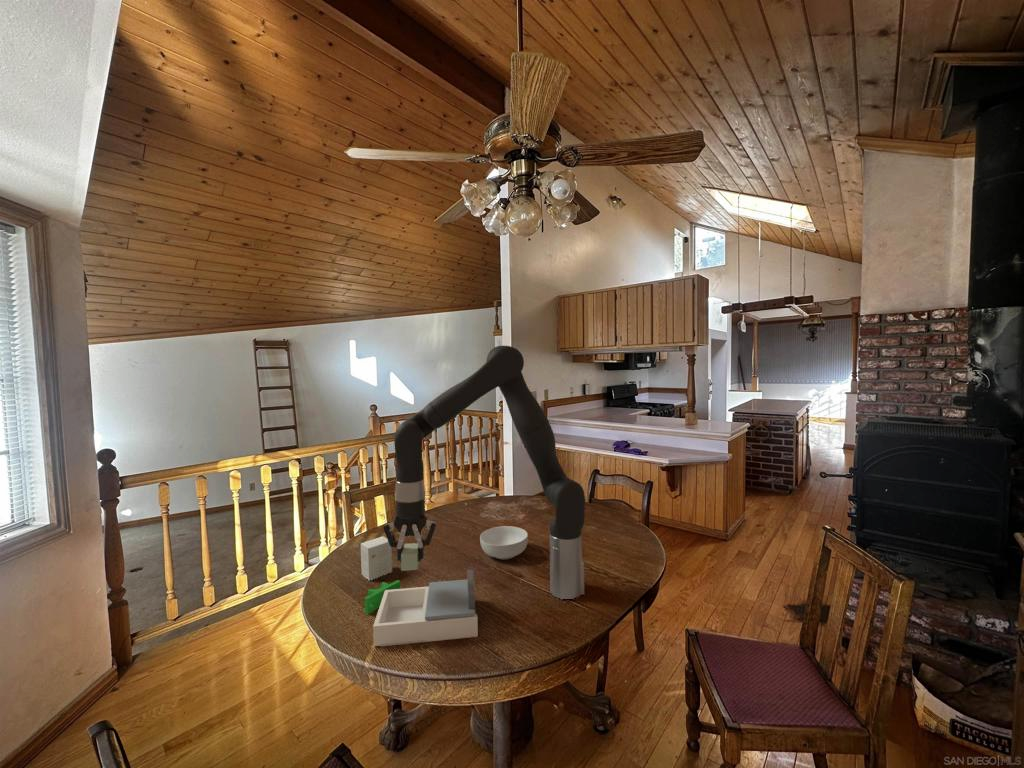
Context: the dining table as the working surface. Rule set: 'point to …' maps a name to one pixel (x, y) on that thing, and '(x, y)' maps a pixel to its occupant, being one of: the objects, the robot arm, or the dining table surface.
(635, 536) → the dining table surface
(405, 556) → the pale green block
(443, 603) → the lid
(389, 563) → the small box
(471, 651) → the dining table surface
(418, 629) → the housing
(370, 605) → the pipe clamp
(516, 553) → the cereal bowl
